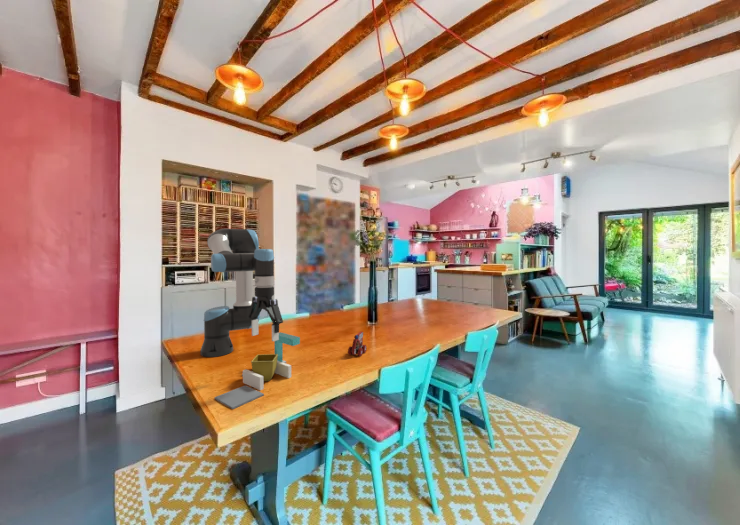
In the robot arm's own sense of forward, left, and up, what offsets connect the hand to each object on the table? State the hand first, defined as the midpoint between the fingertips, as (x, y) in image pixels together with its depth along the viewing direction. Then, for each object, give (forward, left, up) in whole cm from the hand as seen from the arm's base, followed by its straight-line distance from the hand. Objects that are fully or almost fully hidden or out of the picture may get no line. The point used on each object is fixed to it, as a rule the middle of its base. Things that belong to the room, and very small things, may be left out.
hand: (264, 337), depth 124 cm
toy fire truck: (+12, +47, -18) cm, 52 cm away
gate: (-3, +14, -17) cm, 22 cm away
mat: (+6, -15, -17) cm, 24 cm away
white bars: (-2, +5, -17) cm, 18 cm away
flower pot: (0, 0, -18) cm, 18 cm away
